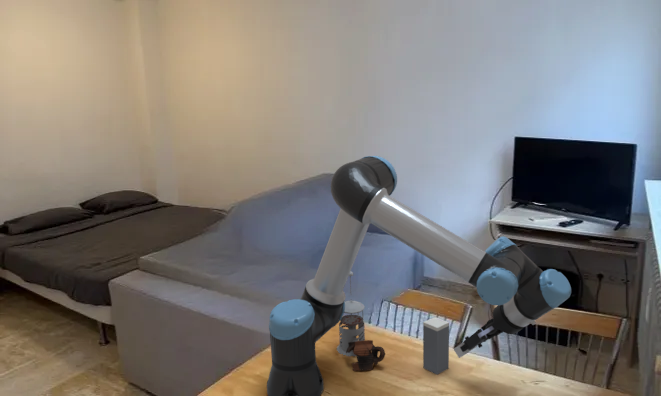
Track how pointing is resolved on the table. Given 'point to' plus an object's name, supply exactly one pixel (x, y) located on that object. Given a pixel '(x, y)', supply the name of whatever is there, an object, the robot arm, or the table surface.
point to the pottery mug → (365, 354)
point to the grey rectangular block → (436, 345)
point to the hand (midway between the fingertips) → (457, 352)
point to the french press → (351, 325)
